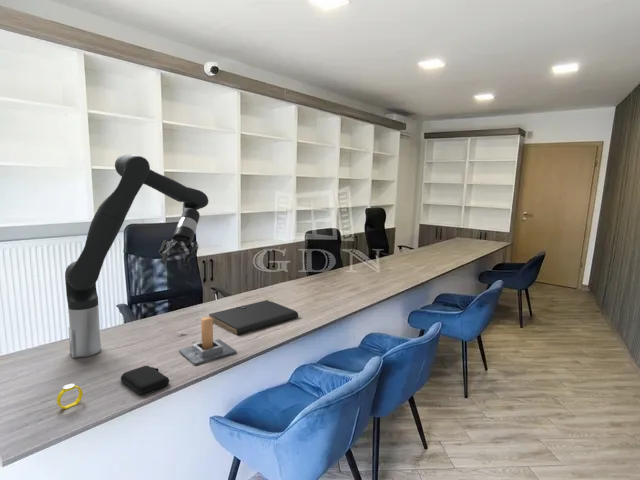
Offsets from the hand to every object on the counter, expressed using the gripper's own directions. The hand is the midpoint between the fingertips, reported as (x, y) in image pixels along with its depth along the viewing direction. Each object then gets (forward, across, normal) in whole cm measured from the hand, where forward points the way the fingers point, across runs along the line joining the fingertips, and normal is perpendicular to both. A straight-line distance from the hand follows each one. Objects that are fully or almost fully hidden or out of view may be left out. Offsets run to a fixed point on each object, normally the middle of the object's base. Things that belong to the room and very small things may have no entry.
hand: (173, 264), depth 146 cm
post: (+28, +16, +15) cm, 35 cm away
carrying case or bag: (+45, +5, -1) cm, 45 cm away
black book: (+3, +24, +42) cm, 49 cm away
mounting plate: (+28, +16, +15) cm, 36 cm away
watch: (+55, -8, -11) cm, 57 cm away
